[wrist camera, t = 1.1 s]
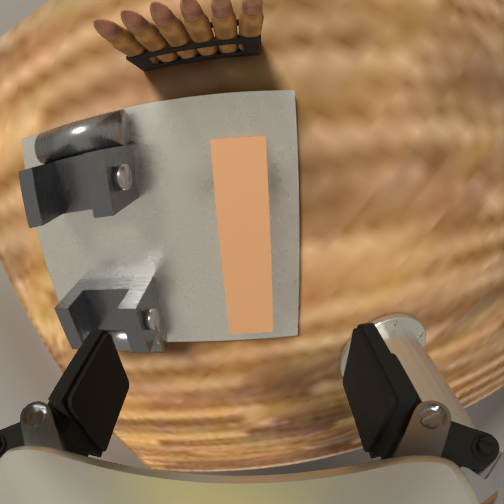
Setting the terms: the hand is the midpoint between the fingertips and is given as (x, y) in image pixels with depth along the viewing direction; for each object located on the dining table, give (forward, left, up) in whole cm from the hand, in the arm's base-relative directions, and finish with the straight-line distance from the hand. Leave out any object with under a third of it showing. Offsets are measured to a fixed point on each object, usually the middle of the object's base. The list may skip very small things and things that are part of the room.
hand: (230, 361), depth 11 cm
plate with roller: (-1, +8, -19) cm, 20 cm away
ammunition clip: (+16, +2, -19) cm, 25 cm away
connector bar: (-1, -1, -18) cm, 18 cm away
